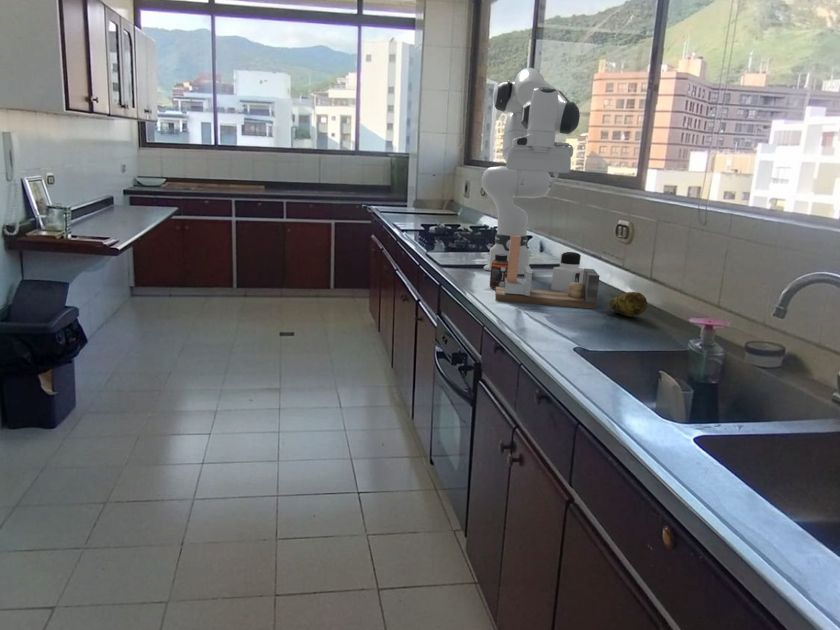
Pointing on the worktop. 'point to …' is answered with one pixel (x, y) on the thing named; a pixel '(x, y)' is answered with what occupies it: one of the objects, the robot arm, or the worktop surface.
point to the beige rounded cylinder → (576, 290)
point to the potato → (629, 304)
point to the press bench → (558, 294)
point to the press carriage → (516, 271)
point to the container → (567, 272)
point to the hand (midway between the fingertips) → (536, 186)
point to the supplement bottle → (498, 271)
